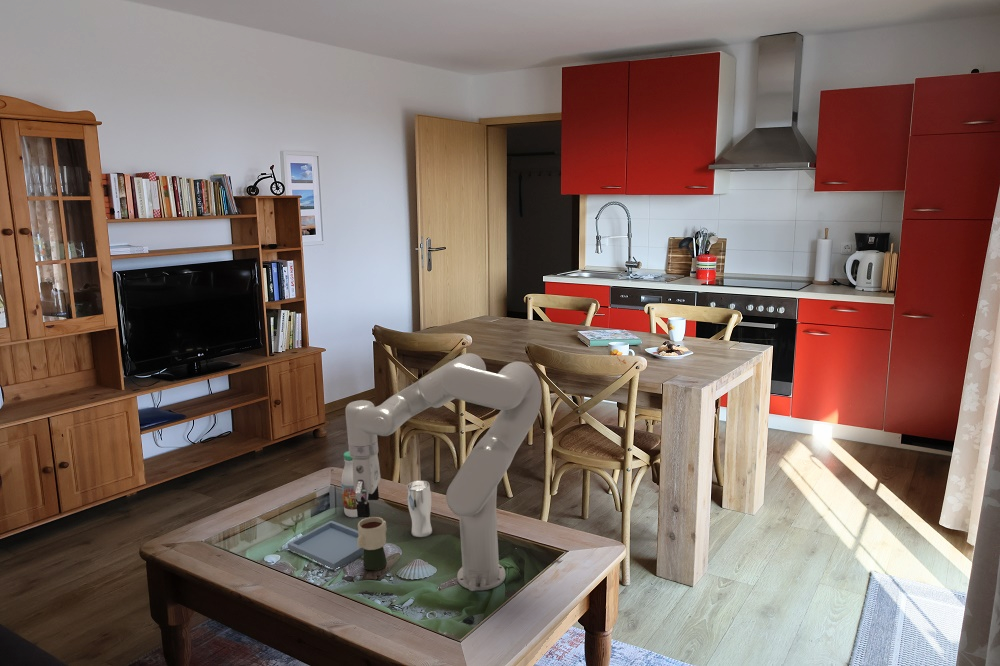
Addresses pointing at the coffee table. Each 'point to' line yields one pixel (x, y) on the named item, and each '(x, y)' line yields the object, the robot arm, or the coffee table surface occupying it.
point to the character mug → (372, 542)
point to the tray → (329, 545)
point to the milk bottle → (349, 487)
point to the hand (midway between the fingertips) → (368, 508)
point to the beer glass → (419, 507)
